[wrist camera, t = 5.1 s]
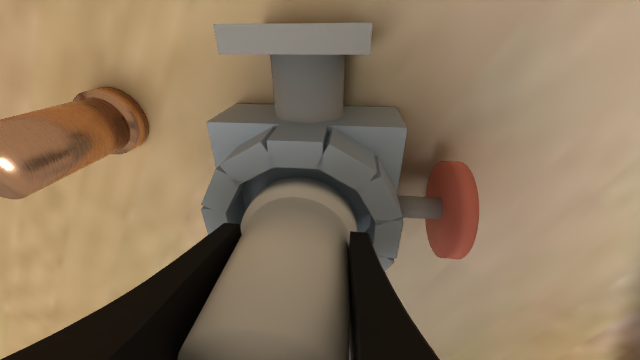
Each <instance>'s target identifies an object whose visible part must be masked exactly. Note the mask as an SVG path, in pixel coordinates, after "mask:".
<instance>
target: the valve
mask: <svg viewBox="0 0 640 360" xmlns="http://www.w3.org/2000/svg"><path fill="white" fill-rule="evenodd" d="M372 25H373V23H282V24H214V30H215V36H216V41H217V47H218V53H219V54H270V57H271V68H272V79H273V91H274V102H275V104H235V105H233V106H232V107H230V108H228V109H227V110H225V111H224V112H222V113H220V114H219V115H217V116H215V117H214V118H212V119H211V120H209V121H207V122H206V123H207V127H208V132H209V137H210V141H211V146H212V150H213V155H214V159H215V164H216V170H215V172H214V175H213V177H212V179H211V182H210V184H209V187H208V189H207V192H206V194H205V197H204V199H203V202H202V204H201V205H204V206H203V207H202V209H201V210H202V214H203V218H204V221H205V225H206V228H207V232H208V235H209V234H210V233H211V232H213V231H214V230H215V229H217V228H218V227H219V226H221V225H222V224H224V223H234V224H240V228H241V222H242V218H243V216H244V214H245V212H246V210H247V208H248V207H249V205H250V203H251V202H252V200H253V198H254V197H255V195H256V194H257V193H258V192H259V191H260V190H261V189H262V188H263V187H265V186H266V185H268V184H269V183H271V182H274V181H276V180H279V179H283V178H289V177H305V178H311V179H315V180H319V181H321V182H324V183H326V184H328V185H330V186H332V187H333V188H335V189H336V190H338V191H339V192H340V193H341V194H343V195H344V196H345V198H346V199H347V200H348V201H349V203H350V204H351V206H352V207H353V210H354V212H355V215H356V218H357V232H367V233H368V234H369V235H370V238H371V241H372V244H373V247H374V250H375V252H376V254H377V257H378V259H379V261H380V264H381V266H382V268H383V270H384V271H385V270H387V269H388V268H389V267H390V266H391V265H392V264H393V263H394V258H397V253H398V248H399V242H400V237H401V232H402V226H403V218H402V217H407V218H423V219H425V222H426V230H427V236H428V240H429V243H430V246H431V248H432V250H433V252H434V253H435V254H436V255H437V256H438V257H440V258H450V259H462V258H464V257H465V256H466V255H467V254H468V253H469V251H470V250H471V248H472V246H473V244H474V241H475V238H476V234H477V229H478V221H479V199H478V191H477V186H476V183H475V179H474V177H473V174H472V172H471V171H470V169H469V168H468V166H467V165H466V164H464V163H462V162H452V161H441V162H439V163H438V164H437V165H436V166H435V167H434V169H433V171H432V173H431V175H430V178H429V182H428V186H427V192H426V197H415V196H397V190H398V184H399V178H400V172H401V165H402V159H403V153H404V147H405V141H406V134H407V126H406V124H405V122H404V121H403V119H402V117H401V115H400V114H399V112H398V110H397V108H396V107H374V106H343V97H344V70H345V55H370V50H371V37H372Z"/></svg>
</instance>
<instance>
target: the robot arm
mask: <svg viewBox="0 0 640 360" xmlns="http://www.w3.org/2000/svg"><path fill="white" fill-rule="evenodd" d="M241 236H242V233H241V228H240V224H234V223H224V224H222V225H221V226H219V227H218V228H217V229H215V230H214V231H213V232H211V233H210V234H209V235H208V236H206V237H205V238H204V239H202V240H201V241H200V242H199V243H197V244H196V245H195V246H193V247H192V248H191V249H189V250H188V251H187V252H185V253H184V254H183V255H181V256H180V257H179V258H177V259H176V260H175V261H173V262H172V263H170V264H169V265H168V266H166V267H165V268H163V269H162V270H160V271H159V272H158V273H156V274H155V275H153V276H152V277H150V278H149V279H148V280H146V281H145V282H143V283H142V284H140V285H139V286H137V287H135V288H134V289H132V290H131V291H129V292H128V293H126V294H124V295H123V296H121V297H119V298H118V299H116V300H114V301H113V302H111V303H109V304H108V305H106V306H104V307H103V308H101V309H99V310H97V311H95V312H93V313H92V314H90V315H88V316H86V317H84V318H82V319H81V320H79V321H77V322H75V323H73V324H71V325H70V326H68V327H66V328H64V329H62V330H60V331H58V332H56V333H54V334H52V335H50V336H48V337H46V338H44V339H42V340H40V341H38V342H36V343H34V344H32V345H30V346H28V347H26V348H24V349H22V350H20V351H18V352H16V353H13V354H11V355H9V356H7V357H5V358H3V359H1V360H178V354H179V351H180V349H181V347H182V345H183V344H184V342H185V340H186V338H187V336H188V334H189V332H190V330H191V329H192V327H193V325H194V323H195V321H196V319H197V317H198V316H199V314H200V312H201V310H202V308H203V306H204V304H205V303H206V301H207V299H208V297H209V295H210V293H211V291H212V290H213V288H214V286H215V284H216V282H217V280H218V278H219V277H220V275H221V273H222V271H223V269H224V267H225V265H226V264H227V262H228V260H229V258H230V256H231V254H232V252H233V251H234V249H235V247H236V245H237V243H238V241H239V239H240V238H241ZM349 282H350V360H440V359H439V358H438V357H437V355H436V354H435V353H434V351H433V350H432V348H431V347H430V346H429V344H428V343H427V341H426V340H425V339H424V337H423V336H422V334H421V333H420V331H419V330H418V328H417V327H416V325H415V324H414V322H413V321H412V319H411V318H410V316H409V314H408V313H407V311H406V310H405V308H404V306H403V305H402V303H401V301H400V300H399V298H398V296H397V294H396V293H395V291H394V289H393V287H392V285H391V283H390V282H389V280H388V278H387V276H386V274H385V272H384V270H383V268H382V266H381V264H380V261H379V259H378V257H377V254H376V252H375V250H374V247H373V244H372V241H371V238H370V235H369V234H368V233H367V232H353V231H350V240H349Z"/></svg>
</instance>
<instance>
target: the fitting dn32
mask: <svg viewBox="0 0 640 360" xmlns="http://www.w3.org/2000/svg"><path fill="white" fill-rule="evenodd" d="M148 132H149V127H148V122H147V119H146V116H145V114H144V112H143V111H142V109H141V108H140V106H139V105H138V104H137V103H136V102H135V101H134V100H133V99H132V98H131V97H130V96H128V95H127V94H125V93H124V92H122V91H120V90H117V89H114V88H109V87H103V88H98V89H94V90H90V91H85V92H82V93H79V94H78V95H77V96H76V97H75V98H74V100H73V102H69V103H65V104H61V105H57V106H53V107H49V108H45V109H41V110H37V111H33V112H29V113H25V114H21V115H17V116H13V117H9V118H5V119H1V120H0V196H1V197H4V198H8V199H22V198H24V197H26V196H28V195H30V194H32V193H34V192H36V191H38V190H40V189H42V188H44V187H46V186H48V185H50V184H52V183H54V182H56V181H58V180H60V179H62V178H64V177H66V176H68V175H70V174H72V173H74V172H76V171H78V170H80V169H82V168H84V167H86V166H88V165H90V164H92V163H94V162H96V161H98V160H100V159H102V158H104V157H106V156H107V155H109V154H124V153H127V152H128V151H130V150H132V149H134V148H136V147H138V146H140V145H141V144H143V143H144V142H145V141H146V139H147V137H148Z"/></svg>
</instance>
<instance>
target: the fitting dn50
mask: <svg viewBox="0 0 640 360" xmlns="http://www.w3.org/2000/svg"><path fill="white" fill-rule="evenodd" d="M350 231H353V232H357V218H356V215H355V212H354V210H353V207H352V206H351V204H350V203H349V201H348V200H347V199H346V198H345V196H344V195H343V194H341V193H340V192H339V191H338V190H336V189H335V188H333V187H332V186H330V185H328V184H326V183H324V182H321V181H319V180H315V179H311V178H305V177H289V178H283V179H279V180H276V181H274V182H271V183H269V184H268V185H266V186H265V187H263V188H262V189H261V190H260V191H259V192H258V193H257V194H256V195H255V197H254V198H253V200H252V202H251V203H250V205H249V207H248V208H247V210H246V212H245V214H244V216H243V218H242V222H241V233H242V236H241V238H240V239H239V241H238V243H237V245H236V247H235V249H234V251H233V252H232V254H231V256H230V258H229V260H228V262H227V264H226V265H225V267H224V269H223V271H222V273H221V275H220V277H219V278H218V280H217V282H216V284H215V286H214V288H213V290H212V291H211V293H210V295H209V297H208V299H207V301H206V303H205V304H204V306H203V308H202V310H201V312H200V314H199V316H198V317H197V319H196V321H195V323H194V325H193V327H192V329H191V330H190V332H189V334H188V336H187V338H186V340H185V342H184V344H183V345H182V347H181V349H180V351H179V354H178V360H350V282H349V240H350Z"/></svg>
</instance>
